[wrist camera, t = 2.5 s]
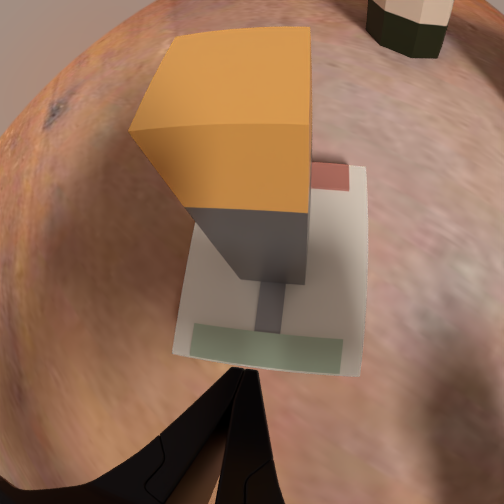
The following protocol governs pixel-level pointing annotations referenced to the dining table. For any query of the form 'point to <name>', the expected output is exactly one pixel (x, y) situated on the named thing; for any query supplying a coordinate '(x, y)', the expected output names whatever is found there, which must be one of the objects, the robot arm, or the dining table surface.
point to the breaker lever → (237, 143)
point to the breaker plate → (287, 292)
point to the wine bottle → (409, 25)
